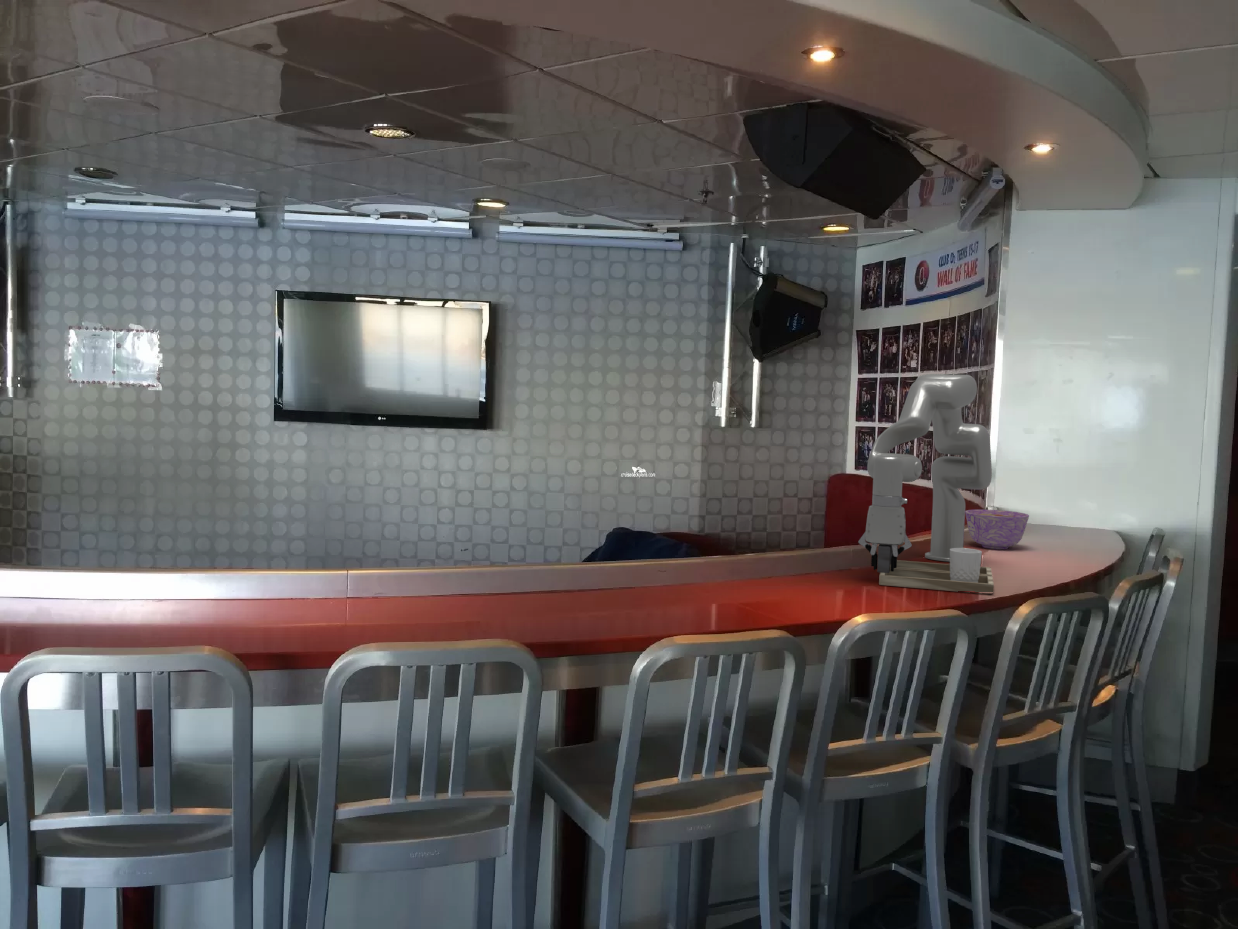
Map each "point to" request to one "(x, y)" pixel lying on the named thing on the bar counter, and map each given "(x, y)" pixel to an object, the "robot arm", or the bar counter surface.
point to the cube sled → (932, 566)
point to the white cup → (965, 564)
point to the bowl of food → (996, 527)
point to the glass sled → (925, 577)
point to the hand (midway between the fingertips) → (883, 569)
